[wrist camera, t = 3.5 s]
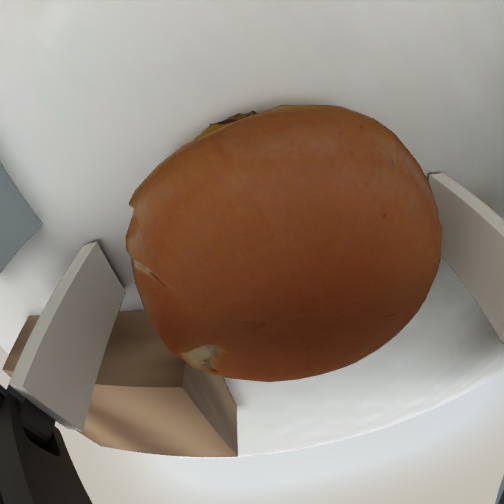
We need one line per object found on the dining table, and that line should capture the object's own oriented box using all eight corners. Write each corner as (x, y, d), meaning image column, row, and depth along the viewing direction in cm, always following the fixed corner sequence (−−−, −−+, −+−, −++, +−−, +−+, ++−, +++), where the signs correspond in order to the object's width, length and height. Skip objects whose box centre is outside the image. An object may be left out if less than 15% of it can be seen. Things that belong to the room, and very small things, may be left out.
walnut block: (193, 300, 13) (182, 387, 9) (236, 401, 19) (237, 456, 15) (31, 312, 13) (2, 369, 10) (109, 400, 20) (100, 445, 16)
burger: (437, 211, 10) (501, 281, 6) (297, 338, 14) (310, 419, 11) (250, 36, 7) (261, -5, 3) (115, 248, 11) (70, 337, 7)
